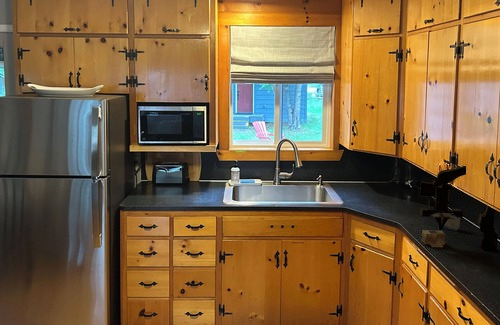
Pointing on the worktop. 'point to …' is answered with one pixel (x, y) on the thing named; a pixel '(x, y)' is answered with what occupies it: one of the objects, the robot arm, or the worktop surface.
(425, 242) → the wooden block
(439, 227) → the robot arm
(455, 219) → the medicine box
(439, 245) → the mat
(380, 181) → the worktop surface
